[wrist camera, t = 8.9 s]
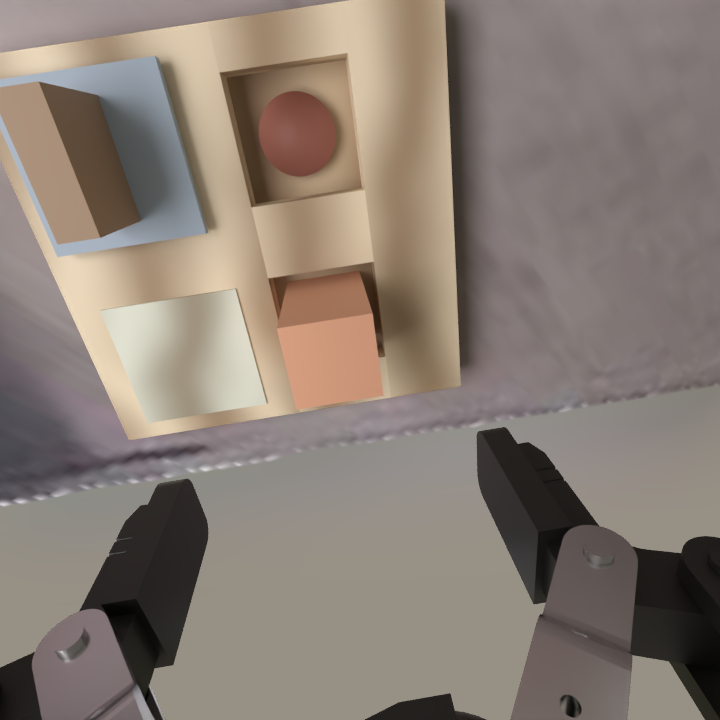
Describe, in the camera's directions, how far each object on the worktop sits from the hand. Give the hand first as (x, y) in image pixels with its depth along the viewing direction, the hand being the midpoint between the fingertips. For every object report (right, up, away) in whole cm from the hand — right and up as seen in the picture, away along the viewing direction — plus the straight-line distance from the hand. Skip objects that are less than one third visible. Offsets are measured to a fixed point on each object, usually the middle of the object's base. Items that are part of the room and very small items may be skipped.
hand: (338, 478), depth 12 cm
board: (-5, +9, +11) cm, 16 cm away
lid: (-11, +12, +7) cm, 18 cm away
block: (-1, +6, +13) cm, 15 cm away
